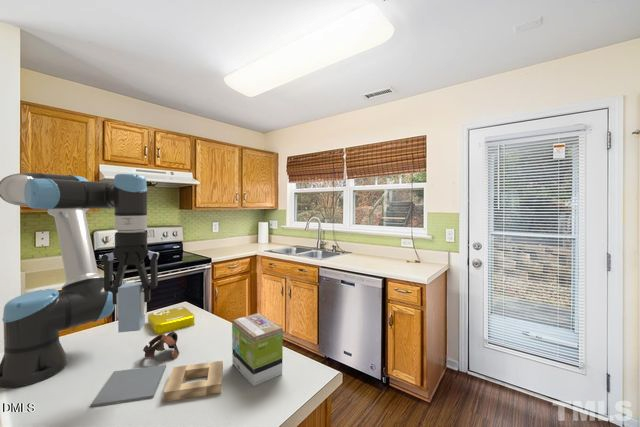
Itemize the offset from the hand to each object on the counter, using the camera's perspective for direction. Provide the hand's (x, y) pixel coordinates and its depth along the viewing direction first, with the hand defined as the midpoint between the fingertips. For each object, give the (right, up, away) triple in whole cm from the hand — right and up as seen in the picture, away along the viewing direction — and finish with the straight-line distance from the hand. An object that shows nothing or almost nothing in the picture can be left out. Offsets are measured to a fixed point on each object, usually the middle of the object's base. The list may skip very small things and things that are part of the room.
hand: (132, 314), depth 82 cm
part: (0, -4, 0) cm, 4 cm away
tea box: (+33, -20, +9) cm, 40 cm away
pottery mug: (0, -20, +17) cm, 26 cm away
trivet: (0, -20, +1) cm, 20 cm away
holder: (+17, -20, +2) cm, 27 cm away
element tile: (-10, -19, +42) cm, 47 cm away
